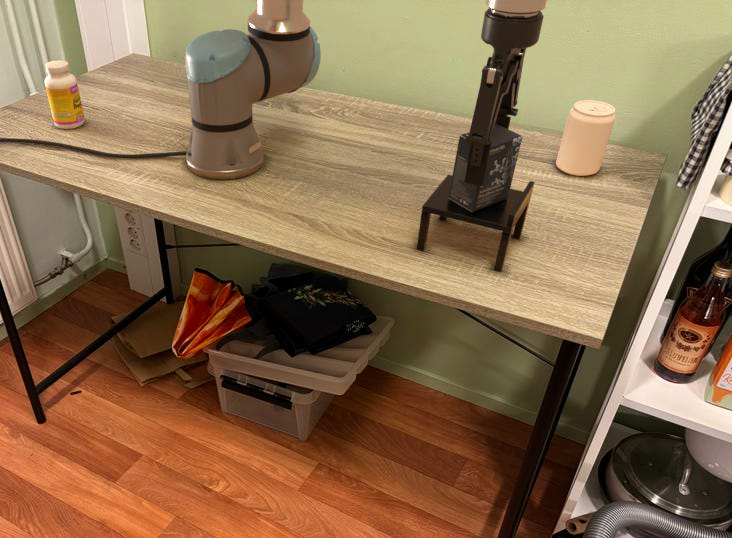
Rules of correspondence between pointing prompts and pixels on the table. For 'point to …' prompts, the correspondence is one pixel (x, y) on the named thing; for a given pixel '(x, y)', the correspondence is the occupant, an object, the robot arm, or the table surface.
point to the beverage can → (585, 137)
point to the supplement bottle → (63, 96)
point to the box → (496, 172)
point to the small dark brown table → (479, 215)
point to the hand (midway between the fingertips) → (483, 169)
